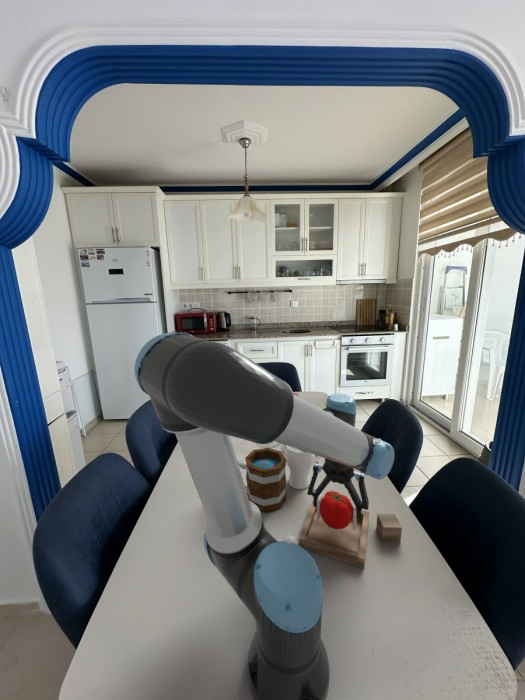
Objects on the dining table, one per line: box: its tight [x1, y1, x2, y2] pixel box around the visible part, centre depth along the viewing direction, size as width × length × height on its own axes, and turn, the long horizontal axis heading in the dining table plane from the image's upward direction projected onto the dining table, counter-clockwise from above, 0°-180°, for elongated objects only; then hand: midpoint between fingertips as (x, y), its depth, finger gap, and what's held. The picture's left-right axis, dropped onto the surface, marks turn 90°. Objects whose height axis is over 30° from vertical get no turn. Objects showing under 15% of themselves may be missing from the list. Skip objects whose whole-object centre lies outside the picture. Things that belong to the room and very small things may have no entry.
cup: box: [284, 445, 316, 490], centre depth 107 cm, size 11×11×15 cm
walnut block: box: [375, 513, 403, 544], centre depth 85 cm, size 5×5×5 cm
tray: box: [298, 498, 370, 570], centre depth 86 cm, size 17×17×3 cm
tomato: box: [320, 489, 354, 529], centre depth 85 cm, size 9×10×8 cm
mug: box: [237, 447, 287, 514], centre depth 100 cm, size 20×14×15 cm
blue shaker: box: [282, 534, 299, 545], centre depth 76 cm, size 4×4×9 cm
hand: (336, 521), depth 86 cm, fingers closed on tomato, 9 cm apart
